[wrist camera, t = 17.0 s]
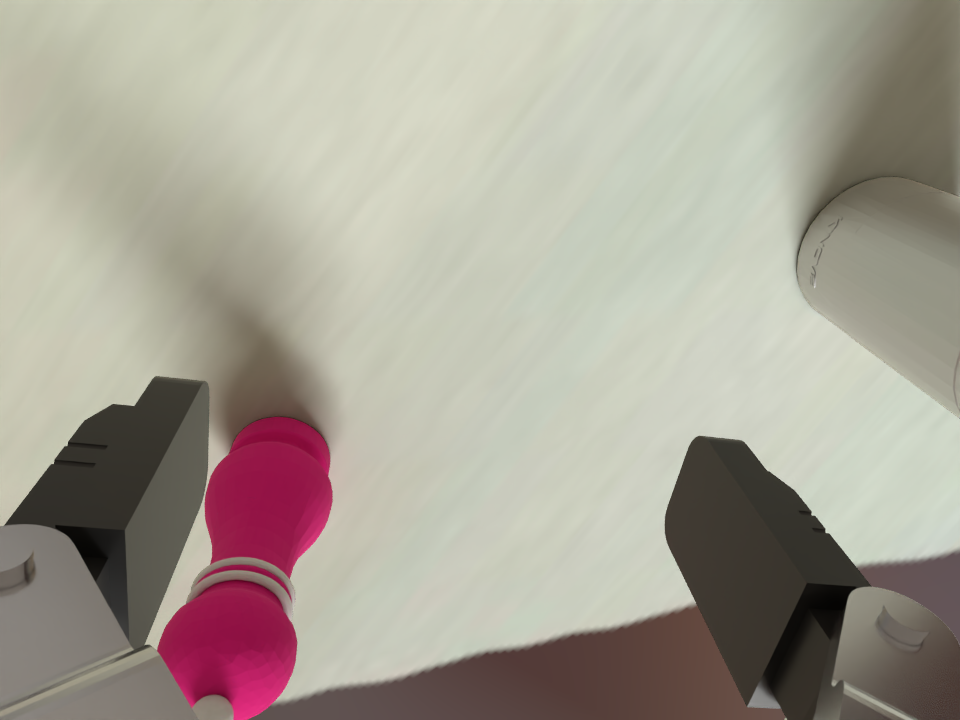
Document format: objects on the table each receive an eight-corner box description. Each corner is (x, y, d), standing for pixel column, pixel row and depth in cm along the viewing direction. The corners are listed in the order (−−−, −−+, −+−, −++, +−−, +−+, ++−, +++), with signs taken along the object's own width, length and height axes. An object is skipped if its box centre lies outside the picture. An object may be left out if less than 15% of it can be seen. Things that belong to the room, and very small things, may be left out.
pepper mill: (276, 387, 44) (189, 644, 27) (361, 456, 47) (335, 731, 29) (199, 457, 46) (70, 744, 28) (286, 520, 49) (219, 817, 31)
